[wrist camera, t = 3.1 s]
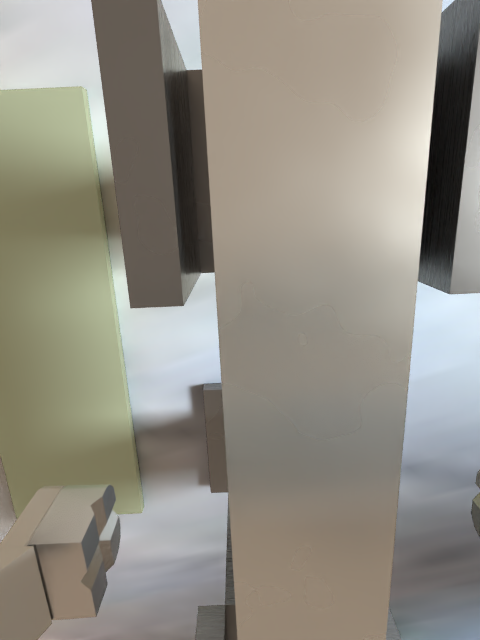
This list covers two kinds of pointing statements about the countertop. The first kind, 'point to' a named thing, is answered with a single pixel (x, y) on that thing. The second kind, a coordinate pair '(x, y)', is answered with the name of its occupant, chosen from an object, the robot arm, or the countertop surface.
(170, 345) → the countertop surface
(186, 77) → the posts
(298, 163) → the rail
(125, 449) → the mat
